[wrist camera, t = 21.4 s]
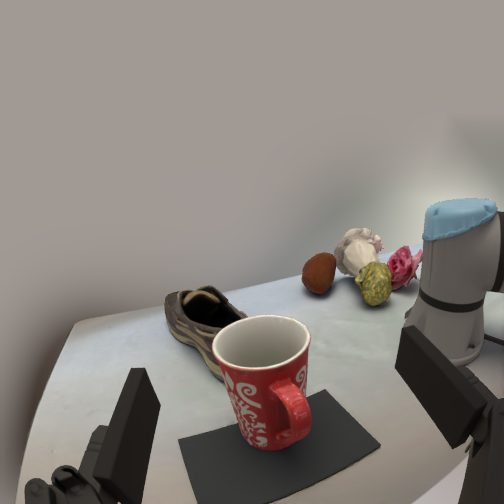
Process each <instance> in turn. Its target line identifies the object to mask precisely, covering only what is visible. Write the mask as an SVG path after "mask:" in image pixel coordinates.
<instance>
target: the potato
mask: <svg viewBox="0 0 504 504" xmlns="http://www.w3.org/2000/svg"><path fill="white" fill-rule="evenodd" d="M335 270H336V258H335V256H334V255H332V254H330V253H320V254H317V255H315V256H314V257H312V258H311V259H310V260H308V261H307V262H306V264H305V266H304V268H303V274H302V282H303V284H304V285H305V286H306V288H307V289H309V290H310V291H312V292H314V293H316V294H323V293H325V292H326V291H327V290H328V288H329V287H330V286H331V284H332V282H333V279H334V276H335Z"/></svg>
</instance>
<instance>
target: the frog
mask: <svg viewBox="0 0 504 504" xmlns="http://www.w3.org/2000/svg"><path fill="white" fill-rule="evenodd" d="M382 244H383V243H382V240H381V239H380V237H379V236H378V235H376V236H375V237H373V235H372V231H370V230H368V229H367V228H363V229H362V228H361V229H351V230H349V231H348V232H347V233H346V234H345V236H344V237H343V238H342V240H341V241H340V242H339V243H338V244H337V247H336V249H335V251H334V256H335V258H336V267H337V268H338V269H339V270H340V272H341V273H342V274H343V273H344V275H346V274H348V275H350V276H353V277H356V279H355V283H356V284H357V285H358V286H359V287H360V290H361V293H362V298H363V300H364V301H365V302H366V303H367V304H369V305H371V306H376V305H380V304H381V303H382V302H383V301H385V300H386V299H388V298H389V297H390V294H391V292H392V285H391V277H392V274H391V272H390V270H389V268H388V266H387V265H386V264H385V263H380V262H379V258H378V255H377V253H378V252H379V251H381V249H384V248H382ZM392 273H393V272H392ZM379 307H380V306H379Z"/></svg>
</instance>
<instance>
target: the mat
mask: <svg viewBox="0 0 504 504" xmlns="http://www.w3.org/2000/svg"><path fill="white" fill-rule="evenodd" d="M306 400H307V402H308V405H309V407H310V412H311V429H310V431H309V433H308V435H307V436H306V437H304V438H303V439H301V440H298V441H296V442H295V443H293V444H292V445H290V446H288V447H286V448H283V449H280V450H273V451H267V450H261V449H258V448H255V447H253V446H252V445H250V444H249V443H248V442H247V441H246V440H245V439H244V437H243V435H242V432H241V429H240V426H239V423H237V424H233V425H230V426H227V427H223V428H220V429H217V430H213V431H209V432H206V433H202V434H198V435H194V436H190V437H186V438H182V439H178V441H179V445H180V449H181V452H182V456H183V459H184V462H185V466H186V469H187V472H188V476H189V479H190V482H191V485H192V488H193V491H194V494H195V497H196V500H197V502H198V504H268V503H270V502H273V501H276V500H278V499H281V498H283V497H286V496H288V495H291V494H293V493H295V492H298V491H300V490H302V489H304V488H307V487H309V486H311V485H313V484H315V483H317V482H319V481H321V480H323V479H325V478H327V477H329V476H331V475H333V474H335V473H337V472H339V471H341V470H343V469H344V468H346V467H348V466H350V465H351V464H353V463H355V462H357V461H358V460H360V459H362V458H363V457H365V456H367V455H368V454H370V453H371V452H373V451H374V450H376V449H378V448H379V447H380V446H381V444H380V443H379V442H378V441H377V440H376V439H375V438H373V437H372V436H371V435H370V434H369V433H368V432H367V431H366V430H365V429H364V428H363V427H362V426H361V425H360V424H359V423H358V422H357V421H356V420H355V419H354V418H353V417H352V416H351V415H350V414H349V413H348V412H347V411H346V410H345V409H344V408H343V407H342V406H341V405H340V404H339V403H338V402H337V401H336V400H335V399H334V398H333V397H332V396H331V395H330V394H329V393H328V392H327V391H326V390H325V389H324V390H322V391H320V392H318V393H316V394H313V395H311V396H309V397H306Z"/></svg>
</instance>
